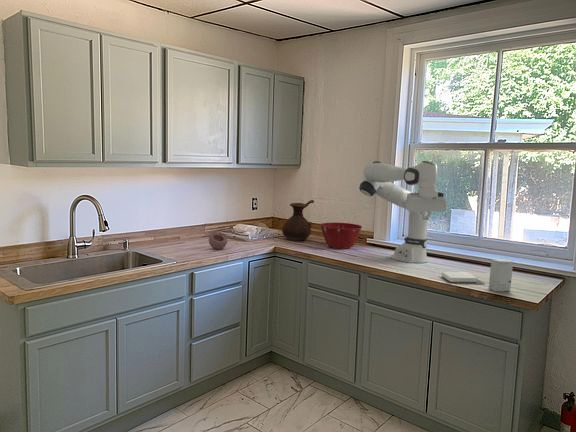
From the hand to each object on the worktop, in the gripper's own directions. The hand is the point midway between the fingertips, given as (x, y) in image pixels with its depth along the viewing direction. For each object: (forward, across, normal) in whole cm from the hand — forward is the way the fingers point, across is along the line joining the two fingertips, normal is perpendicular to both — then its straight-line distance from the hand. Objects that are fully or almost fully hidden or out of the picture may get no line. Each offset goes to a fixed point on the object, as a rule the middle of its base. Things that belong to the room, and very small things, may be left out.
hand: (425, 219), depth 237 cm
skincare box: (+31, +32, -18) cm, 49 cm away
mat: (+31, +22, -1) cm, 38 cm away
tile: (+29, +12, -1) cm, 32 cm away
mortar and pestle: (+31, -112, +66) cm, 134 cm away
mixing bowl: (+31, -29, +80) cm, 91 cm away
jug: (+31, -58, +105) cm, 124 cm away
